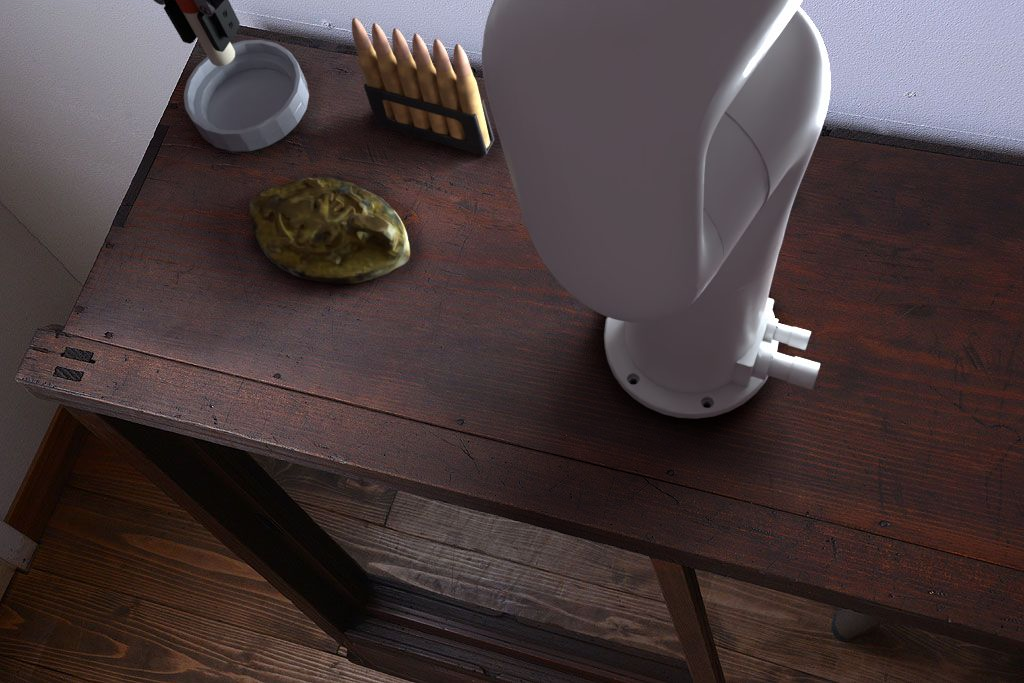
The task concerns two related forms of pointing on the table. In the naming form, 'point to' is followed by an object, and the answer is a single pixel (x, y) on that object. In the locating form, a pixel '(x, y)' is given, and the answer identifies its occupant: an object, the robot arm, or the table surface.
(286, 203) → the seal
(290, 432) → the table surface
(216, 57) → the red-capped cylinder
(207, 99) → the dish
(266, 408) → the table surface
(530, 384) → the table surface
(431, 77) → the ammunition clip
